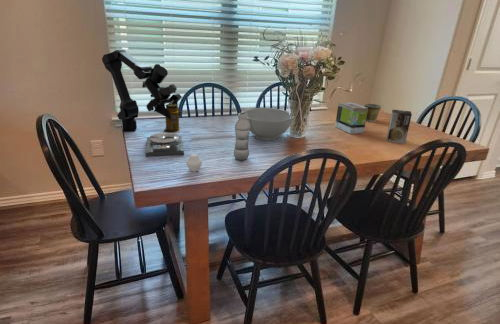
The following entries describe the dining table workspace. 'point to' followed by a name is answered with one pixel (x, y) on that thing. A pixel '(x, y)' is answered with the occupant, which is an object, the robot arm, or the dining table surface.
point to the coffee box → (399, 126)
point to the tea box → (351, 117)
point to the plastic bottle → (242, 137)
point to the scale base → (164, 148)
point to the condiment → (172, 119)
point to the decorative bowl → (268, 122)
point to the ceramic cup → (372, 112)
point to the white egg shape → (194, 162)
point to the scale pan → (164, 138)
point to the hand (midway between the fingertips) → (175, 116)
